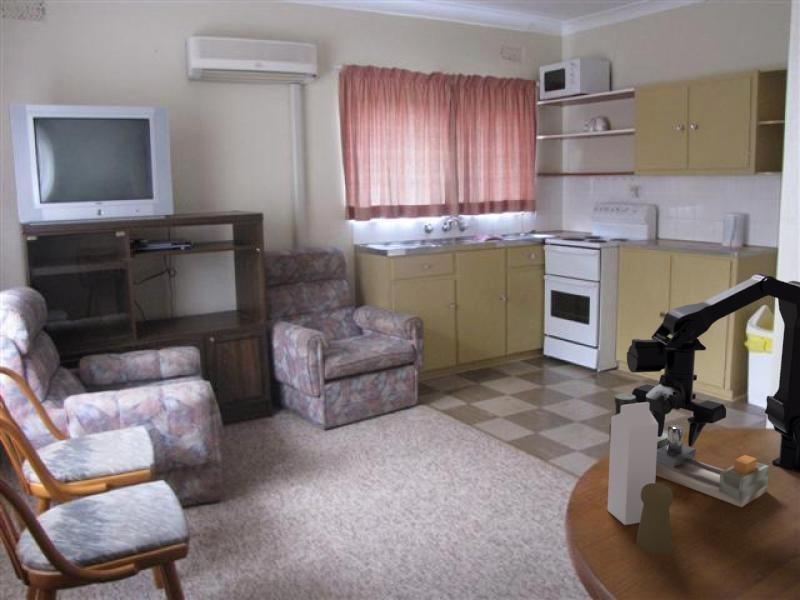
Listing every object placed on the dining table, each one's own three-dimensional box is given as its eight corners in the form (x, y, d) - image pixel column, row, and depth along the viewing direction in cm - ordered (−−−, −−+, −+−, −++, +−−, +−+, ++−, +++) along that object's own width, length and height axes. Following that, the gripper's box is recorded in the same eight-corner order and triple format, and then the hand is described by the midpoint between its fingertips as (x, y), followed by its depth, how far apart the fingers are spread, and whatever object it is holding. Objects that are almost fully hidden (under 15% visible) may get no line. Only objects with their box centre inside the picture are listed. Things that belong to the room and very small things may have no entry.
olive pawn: (675, 556, 122) (679, 496, 120) (637, 553, 123) (640, 493, 121) (669, 538, 128) (673, 480, 126) (633, 535, 129) (636, 477, 127)
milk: (653, 521, 134) (660, 407, 130) (624, 525, 133) (630, 411, 128) (634, 506, 140) (640, 396, 136) (606, 510, 138) (611, 400, 134)
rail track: (659, 454, 163) (660, 431, 162) (766, 491, 145) (769, 465, 144) (632, 466, 157) (633, 442, 156) (741, 507, 139) (743, 480, 138)
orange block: (743, 469, 145) (744, 454, 144) (755, 473, 143) (756, 458, 142) (733, 474, 142) (734, 460, 142) (745, 478, 141) (746, 464, 140)
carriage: (673, 450, 159) (675, 420, 158) (695, 457, 155) (697, 426, 154) (652, 460, 154) (654, 428, 153) (674, 467, 150) (676, 435, 149)
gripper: (617, 368, 153) (614, 438, 156) (700, 389, 139) (695, 465, 142) (648, 358, 160) (644, 425, 163) (730, 377, 146) (724, 451, 149)
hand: (674, 441), depth 154 cm, fingers open, 7 cm apart
